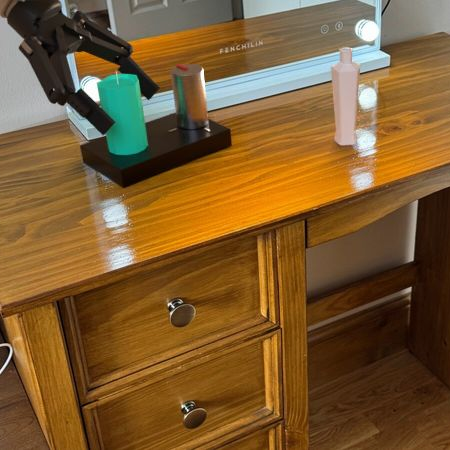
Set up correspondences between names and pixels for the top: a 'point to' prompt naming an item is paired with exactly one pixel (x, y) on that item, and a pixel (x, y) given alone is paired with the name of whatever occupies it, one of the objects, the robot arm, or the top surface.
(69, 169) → the top surface
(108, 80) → the candle
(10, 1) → the robot arm
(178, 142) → the block
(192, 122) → the silver metal cylinder
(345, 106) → the perfume bottle
